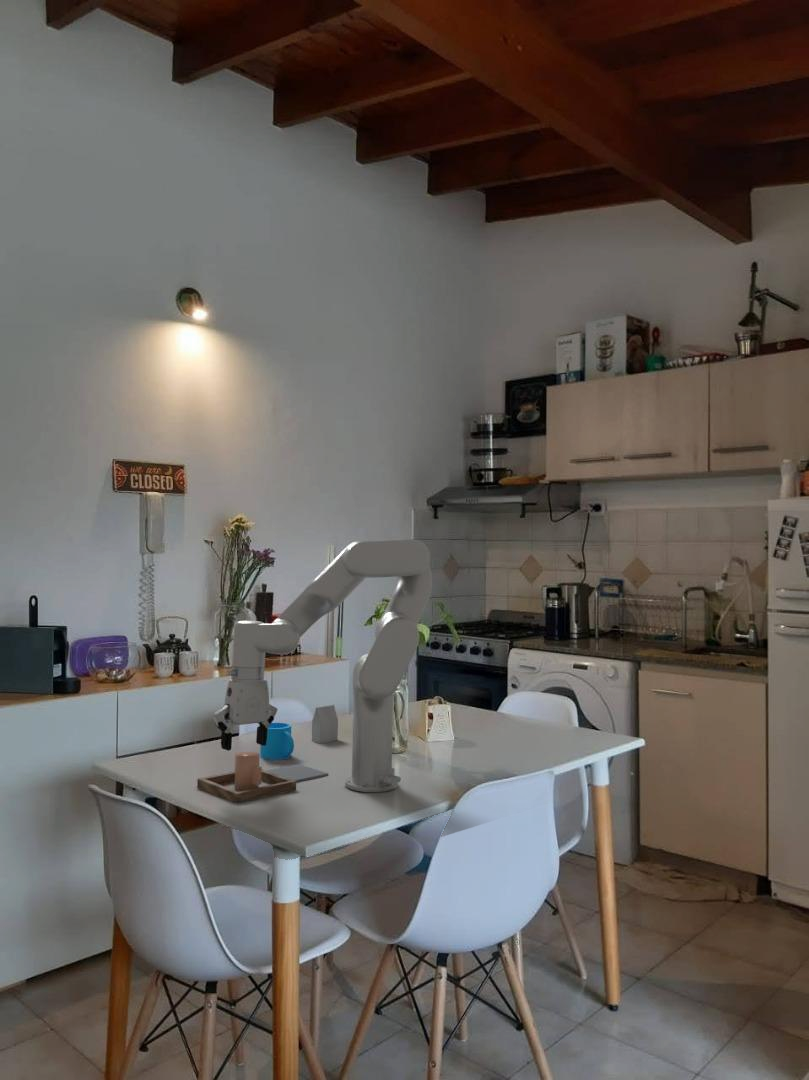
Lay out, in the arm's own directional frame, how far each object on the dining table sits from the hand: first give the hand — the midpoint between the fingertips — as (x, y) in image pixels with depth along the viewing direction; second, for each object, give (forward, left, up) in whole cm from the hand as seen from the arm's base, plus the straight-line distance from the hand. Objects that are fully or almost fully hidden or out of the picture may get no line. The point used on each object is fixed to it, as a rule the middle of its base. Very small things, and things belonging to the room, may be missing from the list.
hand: (243, 746), depth 208 cm
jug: (-2, -1, -10) cm, 10 cm away
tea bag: (+28, -47, -10) cm, 55 cm away
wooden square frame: (0, -1, -10) cm, 10 cm away
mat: (+3, -17, -10) cm, 19 cm away
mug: (+20, -25, -10) cm, 33 cm away
